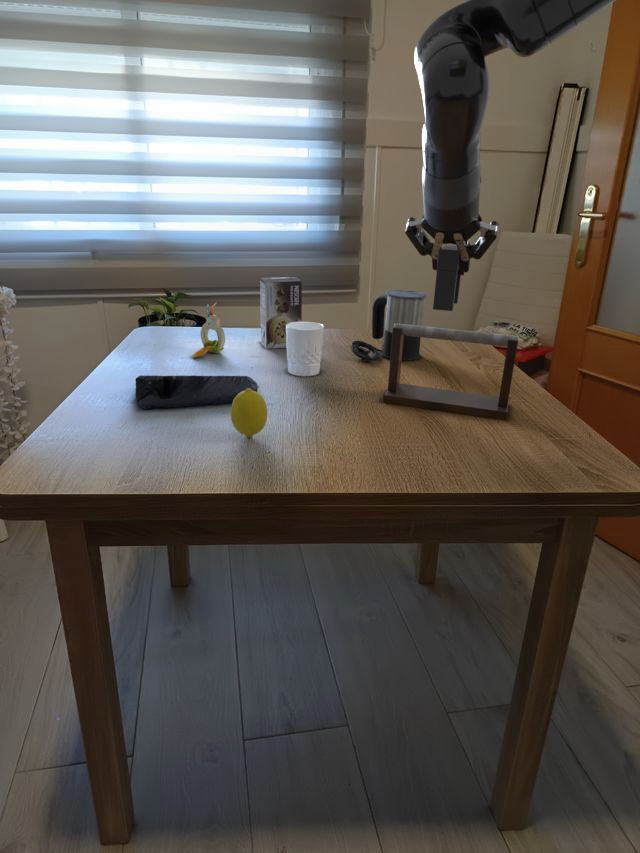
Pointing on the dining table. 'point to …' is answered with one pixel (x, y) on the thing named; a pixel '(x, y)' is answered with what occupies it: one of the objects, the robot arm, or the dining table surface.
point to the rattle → (208, 345)
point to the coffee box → (279, 308)
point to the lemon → (249, 412)
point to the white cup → (304, 347)
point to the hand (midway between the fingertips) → (451, 269)
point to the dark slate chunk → (189, 390)
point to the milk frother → (399, 310)
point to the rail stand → (449, 398)
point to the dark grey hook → (447, 278)
